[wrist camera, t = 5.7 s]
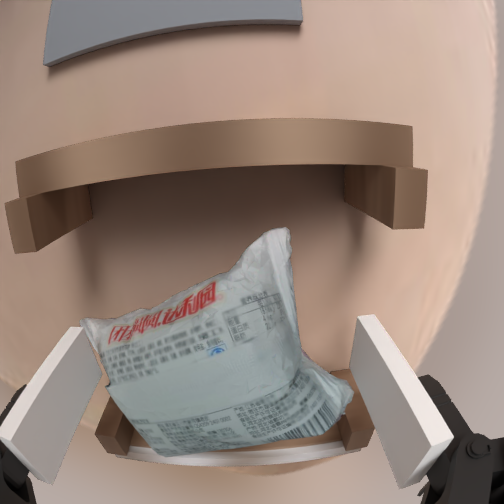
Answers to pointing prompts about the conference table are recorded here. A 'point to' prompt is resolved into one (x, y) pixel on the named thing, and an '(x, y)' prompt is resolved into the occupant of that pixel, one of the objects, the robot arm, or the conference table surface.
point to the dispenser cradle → (220, 156)
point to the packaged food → (220, 361)
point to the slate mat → (149, 20)
